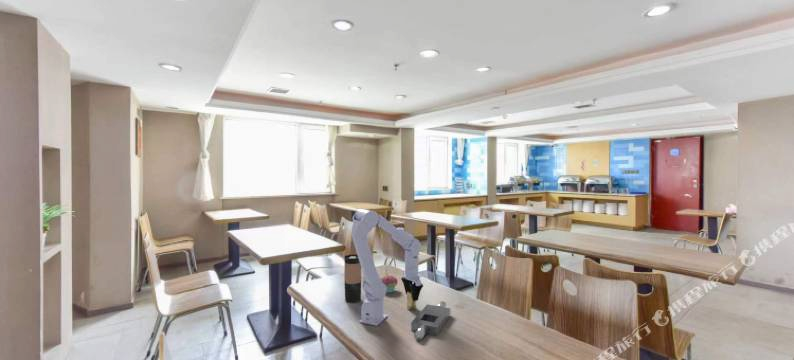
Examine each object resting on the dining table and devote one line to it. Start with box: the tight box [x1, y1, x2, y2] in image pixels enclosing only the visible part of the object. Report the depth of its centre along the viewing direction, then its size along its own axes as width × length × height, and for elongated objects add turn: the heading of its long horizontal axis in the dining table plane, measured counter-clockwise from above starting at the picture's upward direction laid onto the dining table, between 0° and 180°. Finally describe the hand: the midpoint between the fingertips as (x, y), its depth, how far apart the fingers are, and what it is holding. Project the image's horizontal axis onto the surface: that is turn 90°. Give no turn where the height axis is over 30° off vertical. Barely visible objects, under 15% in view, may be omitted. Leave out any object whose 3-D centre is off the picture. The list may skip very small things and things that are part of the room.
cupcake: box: [381, 268, 398, 294], centre depth 165 cm, size 9×8×12 cm
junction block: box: [410, 300, 451, 342], centre depth 131 cm, size 30×10×3 cm, turn 156°
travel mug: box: [343, 253, 362, 304], centre depth 153 cm, size 8×8×20 cm
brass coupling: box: [406, 291, 417, 312], centre depth 144 cm, size 4×4×7 cm
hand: (411, 297), depth 144 cm, fingers open, 7 cm apart
